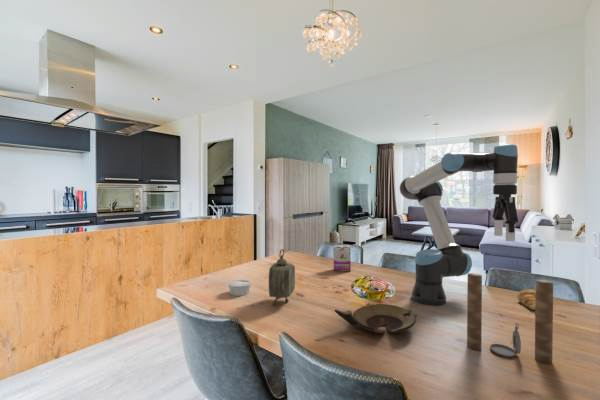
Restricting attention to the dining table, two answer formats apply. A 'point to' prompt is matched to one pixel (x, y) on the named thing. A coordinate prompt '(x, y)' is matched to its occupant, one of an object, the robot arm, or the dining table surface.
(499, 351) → the pocket watch
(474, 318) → the post left
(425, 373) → the dining table surface
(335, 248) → the candy bar box
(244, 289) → the ramekin
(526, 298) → the croissant
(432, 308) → the dining table surface
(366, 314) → the oil lamp
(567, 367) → the dining table surface
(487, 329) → the dining table surface
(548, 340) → the post right
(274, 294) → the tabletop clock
